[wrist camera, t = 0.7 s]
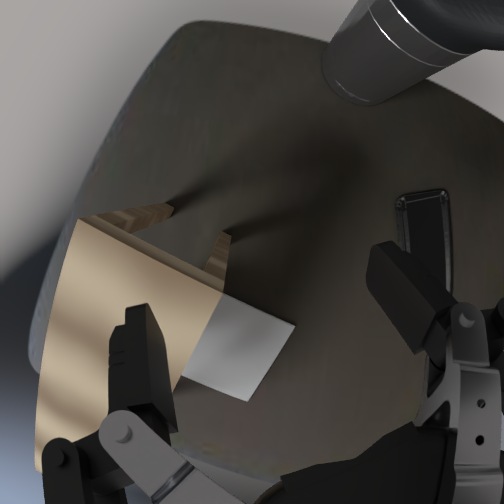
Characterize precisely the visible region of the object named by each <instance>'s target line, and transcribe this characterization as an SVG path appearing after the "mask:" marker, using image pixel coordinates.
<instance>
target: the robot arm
mask: <svg viewBox="0 0 504 504" xmlns="http://www.w3.org/2000/svg"><path fill="white" fill-rule="evenodd" d="M483 49H488V50H498V51H500V50H501V51H504V0H358V2H357V3H356V4H355V6H354V7H353V9H352V10H351V12H350V13H349V15H348V16H347V18H346V19H345V21H344V22H343V24H342V25H341V26H340V28H339V30H338V31H337V32H336V34H335V35H334V37H333V38H332V40H331V41H330V43H329V45H328V46H327V48H326V49H325V51H324V53H323V57H322V69H323V74H324V76H325V78H326V80H327V82H328V83H329V85H330V86H331V88H332V89H333V90H334V91H335V92H336V93H337V94H338V95H340V96H341V97H342V98H344V99H345V100H347V101H349V102H351V103H354V104H358V105H362V106H372V105H377V104H379V103H382V102H384V101H385V100H387V99H389V98H391V97H392V96H394V95H396V94H398V93H400V92H402V91H404V90H405V89H407V88H409V87H411V86H413V85H414V84H416V83H418V82H420V81H422V80H424V79H425V78H427V77H429V76H431V75H433V74H435V73H437V72H439V71H441V70H442V69H444V68H446V67H448V66H450V65H452V64H454V63H456V62H458V61H460V60H461V59H464V58H466V57H467V56H469V55H471V54H474V53H476V52H478V51H480V50H483ZM366 284H367V287H368V289H369V291H370V293H371V294H372V295H373V297H374V298H375V300H376V301H377V302H378V304H379V305H380V306H381V308H382V309H383V311H384V312H385V313H386V315H387V316H388V317H389V319H390V320H391V322H392V323H393V325H394V326H395V327H396V329H397V330H398V332H399V333H400V335H401V336H402V337H403V339H404V340H405V342H406V343H407V345H408V346H409V348H410V349H411V351H412V352H413V353H414V355H415V354H417V353H419V352H421V351H423V350H425V351H426V353H427V355H426V358H425V370H424V383H423V394H422V401H421V405H420V408H419V410H418V412H417V415H416V418H415V422H414V424H413V422H412V421H411V422H409V423H407V424H406V425H404V426H402V427H400V428H398V429H396V430H394V431H392V432H390V433H388V434H386V435H384V436H383V437H382V438H380V439H379V440H378V441H377V442H376V443H374V444H373V445H372V446H371V447H369V448H368V449H367V450H366V451H364V452H363V453H362V454H361V455H359V456H358V457H356V458H354V459H351V460H345V461H338V462H332V463H324V464H316V465H313V466H310V467H308V468H305V469H302V470H299V471H296V472H292V473H289V474H286V475H283V476H280V482H278V483H277V484H275V485H273V486H272V487H270V488H269V489H268V490H266V491H265V492H264V493H263V494H262V495H261V496H260V497H259V498H258V499H257V500H256V501H255V503H254V504H504V451H502V450H500V447H501V446H500V445H501V411H502V413H503V415H504V298H501V299H500V300H499V302H498V304H497V305H496V307H495V308H494V309H487V310H479V309H478V308H477V307H476V306H474V305H472V304H470V303H467V302H460V303H458V302H457V301H456V300H455V298H454V297H453V296H452V295H451V294H450V293H449V292H448V290H447V289H446V288H445V287H444V286H443V285H442V284H441V283H440V281H439V280H438V279H437V278H436V277H435V276H433V275H432V273H431V272H430V271H429V270H428V268H426V267H425V265H424V264H423V263H422V262H421V261H420V260H419V259H418V258H417V257H416V256H414V255H412V254H410V253H409V252H407V251H402V250H401V249H400V248H399V247H398V246H397V245H396V244H395V243H394V242H393V241H387V242H383V243H380V244H376V245H373V246H372V248H371V251H370V257H369V262H368V267H367V273H366ZM108 365H109V368H108V414H107V416H106V417H105V418H104V420H103V421H102V423H101V425H100V428H99V429H98V430H97V431H96V432H94V433H92V434H90V435H88V436H86V437H83V438H81V439H79V440H77V441H74V442H71V441H69V440H68V439H65V438H61V437H58V438H54V439H52V440H50V441H49V442H48V443H47V444H46V445H45V447H44V449H43V451H42V456H41V462H42V476H43V489H44V498H45V504H128V503H127V498H126V494H125V489H124V487H126V486H129V485H131V484H133V483H136V484H137V485H138V486H139V487H140V488H141V489H142V490H143V491H144V492H145V493H146V494H148V496H149V497H150V498H151V499H152V503H153V504H246V503H244V502H243V501H241V500H240V499H238V498H237V497H235V496H234V495H232V494H231V493H230V492H228V491H227V490H225V489H224V488H223V487H221V486H220V485H218V484H217V483H216V482H214V481H213V480H212V479H210V478H209V477H208V476H206V475H205V474H204V473H202V472H201V471H200V470H199V469H197V468H196V467H195V466H193V465H192V464H191V463H190V462H189V461H187V460H186V459H185V458H184V457H183V456H181V455H180V454H179V453H178V452H177V451H175V450H174V449H173V448H172V447H171V442H170V436H169V434H170V433H176V432H178V427H177V421H176V415H175V409H174V403H173V396H172V389H171V382H170V375H169V367H168V359H167V350H166V344H165V340H164V336H163V333H162V331H161V329H160V327H159V325H158V322H157V320H156V318H155V316H154V314H153V312H152V310H151V308H150V306H149V304H148V303H143V304H139V305H135V306H130V307H126V309H125V324H123V325H118V326H115V328H114V330H113V332H112V334H111V337H110V339H109V357H108Z"/></svg>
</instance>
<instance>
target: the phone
mask: <svg viewBox="0 0 504 504" xmlns="http://www.w3.org/2000/svg"><path fill="white" fill-rule="evenodd" d="M395 208H396V216H397V226H398V238H399V246H400V249H401V250H402V251H407V252H409V253H410V254H412V255H414V256H416V257H417V258H418V259H419V260H420V261H421V262H422V263H423V264H424V265H425V267H426V268H428V270H429V271H430V272H431V273H432V275H433V276H435V277H436V278H437V279H438V280H439V281H440V283H441V284H442V285H443V286H444V287H445V288H446V289H447V290H448V292H449V293H450V294H451V295H452V241H451V224H450V211H449V200H448V196H447V194H446V193H445V192H444V191H440V190H436V191H430V192H423V193H416V194H410V195H403V196H400V197H399V198H398V199H397V200H396V203H395Z"/></svg>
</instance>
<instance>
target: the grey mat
mask: <svg viewBox="0 0 504 504" xmlns="http://www.w3.org/2000/svg"><path fill="white" fill-rule="evenodd" d="M294 328H295V326H294V325H292V324H290V323H288V322H285V321H283V320H281V319H279V318H276V317H274V316H272V315H270V314H268V313H265V312H263V311H261V310H259V309H257V308H254V307H252V306H250V305H248V304H246V303H244V302H242V301H239V300H237V299H235V298H233V297H231V296H229V295H227V294H225V293H223V294H222V296H221V298H220V300H219V302H218V304H217V306H216V308H215V309H214V311H213V313H212V315H211V317H210V319H209V321H208V323H207V325H206V327H205V329H204V331H203V333H202V335H201V337H200V339H199V341H198V343H197V345H196V347H195V349H194V351H193V353H192V355H191V357H190V359H189V361H188V362H187V364H186V366H185V368H184V370H183V372H182V374H181V375H182V376H185V377H187V378H189V379H191V380H194V381H196V382H198V383H201V384H203V385H206V386H208V387H211V388H213V389H215V390H218V391H221V392H223V393H226V394H228V395H231V396H233V397H236V398H239V399H242V400H244V401H247V402H248V400H249V399H250V397H251V396H252V394H253V393H254V391H255V390H256V388H257V387H258V385H259V384H260V382H261V380H262V379H263V377H264V376H265V374H266V373H267V371H268V370H269V368H270V366H271V365H272V363H273V362H274V360H275V359H276V357H277V355H278V354H279V352H280V351H281V349H282V347H283V346H284V344H285V343H286V341H287V339H288V338H289V336H290V334H291V333H292V331H293V329H294Z"/></svg>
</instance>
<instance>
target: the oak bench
mask: <svg viewBox="0 0 504 504" xmlns="http://www.w3.org/2000/svg"><path fill="white" fill-rule="evenodd" d="M173 209H174V207H172V206H170V205H168V204H166V203H161V204H155V205H149V206H143V207H137V208H131V209H126V210H120V211H115V212H109V213H104V214H99V215H94V216H89V217H84V218H79V219H78V220H77V223H76V226H75V229H74V232H73V235H72V238H71V241H70V244H69V247H68V250H67V254H66V257H65V260H64V264H63V267H62V271H61V274H60V278H59V282H58V286H57V290H56V294H55V298H54V302H53V306H52V311H51V315H50V320H49V325H48V330H47V335H46V340H45V346H44V352H43V358H42V365H41V372H40V380H39V389H38V400H37V412H36V429H35V430H36V431H35V469H36V470H37V471H39V472H40V473H42V462H41V456H42V451H43V449H44V447H45V445H46V444H47V443H48V442H49V441H50V440H52V439H54V438H58V437H61V438H65V439H68V440H69V441H71V442H74V441H77V440H79V439H81V438H83V437H86V436H88V435H90V434H92V433H94V432H96V431H97V430H98V429H99V428H100V425H101V423H102V421H103V420H104V418H105V417H106V416H107V414H108V368H109V365H108V357H109V339H110V337H111V334H112V332H113V330H114V328H115V326H118V325H123V324H125V309H126V307H130V306H135V305H139V304H143V303H148V304H149V306H150V308H151V310H152V312H153V314H154V316H155V318H156V320H157V322H158V325H159V327H160V329H161V331H162V333H163V336H164V340H165V344H166V350H167V359H168V367H169V375H170V382H171V389H172V392H173V390H174V388H175V386H176V384H177V382H178V380H179V378H180V376H181V374H182V372H183V370H184V368H185V366H186V364H187V362H188V361H189V359H190V357H191V355H192V353H193V351H194V349H195V347H196V345H197V343H198V341H199V339H200V337H201V335H202V333H203V331H204V329H205V327H206V325H207V323H208V321H209V319H210V317H211V315H212V313H213V311H214V309H215V308H216V306H217V304H218V302H219V300H220V298H221V296H222V294H223V288H224V282H225V275H226V269H227V262H228V256H229V249H230V243H231V236H230V235H228V234H226V233H224V232H222V231H221V233H220V235H219V237H218V239H217V241H216V243H215V245H214V248H213V250H212V252H211V254H210V257H209V259H208V261H207V263H206V266H205V268H204V270H203V271H202V270H200V269H198V268H196V267H194V266H192V265H190V264H188V263H186V262H184V261H182V260H180V259H178V258H176V257H174V256H172V255H170V254H168V253H166V252H164V251H162V250H160V249H158V248H156V247H154V246H153V245H151V244H149V243H147V242H145V241H143V240H141V239H139V238H137V237H135V236H133V235H131V233H133V232H136V231H138V230H140V229H143V228H145V227H148V226H150V225H153V224H155V223H158V222H160V221H163V220H166V219H168V218H170V216H171V214H172V212H173ZM124 488H125V487H124Z"/></svg>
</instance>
